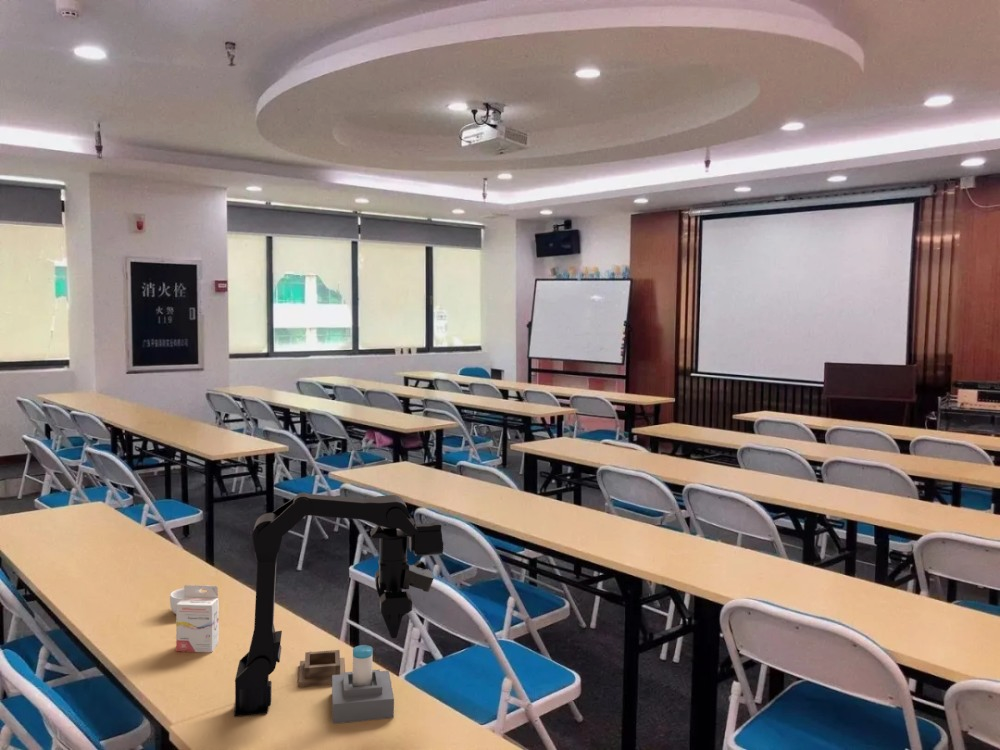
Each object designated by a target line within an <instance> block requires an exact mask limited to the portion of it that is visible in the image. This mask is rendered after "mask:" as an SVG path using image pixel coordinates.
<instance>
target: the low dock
mask: <svg viewBox="0 0 1000 750" xmlns="http://www.w3.org/2000/svg"><path fill="white" fill-rule="evenodd" d="M340 652H341V651H340V649H334V650H333V649H332V650H320V651H319V650H318V651H307V652H305V654H304V656H305V657H304V660H300V661H299V673H298V687H299V686H302V687H308V686H309V687H310V686H312V685H313V686H323V685H324V684H325V685H332V675H340V674H343V672H346V658H345V657H341V655H340ZM321 684H322V685H321ZM325 685H324V686H325ZM313 686H312V687H313Z"/></svg>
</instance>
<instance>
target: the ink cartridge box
mask: <svg viewBox="0 0 1000 750" xmlns="http://www.w3.org/2000/svg"><path fill="white" fill-rule="evenodd" d="M183 588H184V594H185V597H184V598H183V599H182V600H181V601H180V602H178V603H177V613H176V614H175V615H176V618H175V619H176V621H175V622H176V623H175V624H176V625H175V626H176V627H175V628H176V630H175V631H176V635H175V639H176V641H175V645H176V646H175V647H176V648H175V649H176V650H175V651H176V652H177V651H183V652H184V653H213V651H214V650H215V648H216V647H218V644H219V616H220V615H219V613H220V611H219V609H220V608H219V604H220V603H219V600H220V599H219V593H218V592H219V591H218V590H219V587H218V586H217V585H205V584H201V585H200V584H185V585H184V587H183ZM195 590H201V592H195ZM203 591H205V592H203ZM185 651H187V652H185ZM183 652H182V653H183Z"/></svg>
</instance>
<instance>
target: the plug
mask: <svg viewBox="0 0 1000 750" xmlns="http://www.w3.org/2000/svg"><path fill="white" fill-rule="evenodd" d="M373 649H374V648H373V647H372V646H370V645H367V644H361V645H360V644H359V645H357V646H355V647H354V648H353V649H352V672H353V682H352V687H362V686H372V670H373V653H374V652H373Z"/></svg>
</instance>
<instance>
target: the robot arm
mask: <svg viewBox="0 0 1000 750" xmlns="http://www.w3.org/2000/svg"><path fill="white" fill-rule="evenodd" d="M306 516H311V517H324V518H334V519H336V518H337V519H348V520H349V519H350V520H360V521H365V522H368V523H371V524H373V525H376V526H375V527H374V528H373V529H371V531H370V533H369V534H370V538H371V539H379V553H378V554H379V558H378V561H377V562H378V566H379V567H378V569H377V570H376V571H375V573H374V583H375V588H376V592H377V595H378V598H379V609H380V613H381V616H382V619H383V621H384V623H385V626H386V628H387V630H388V633H389V635H390V638H391V639H397V637H398V635H399V631H400V627H401V623H402V620H403V617H404V616H405V615H406V614H409V613H410V612H412V611H413V599H412V597H411V595H410V594H409V592H407V591H402V590H410V587H413V588H415V589H418V590H419V589H420V590H422V591H423V592H430V590H431V587H432V584H433V581H434V579H435V576H434V574H433V572H432V571H431V570H430V569H429V568H428V569H427V566H426V562H425V561H423V560H417V561H416V562H415V563H414V564H409V562H408V545H409V551H410V552H413V555H414V556H415V557H425V556H427V557H428V556H429V557H431V556H442V555H443V553H444V541H443V533H442V524H441V522H440V521H435V522H431V523H416V522H415V520H414V518H413V517H411V516H410V513H409V509H408V507H407V505H406V502H405V500H404V499H403V498H402V497H401V496H399V495H397V494H389V495H387V494H386V495H378V496H374V497H367V498H357V497H348V496H347V497H346V496H337V495H336V496H335V495H325V494H324V495H323V494H312V493H308V492H305V491H303V492H299V493H297V494H296V495H294V497H293V498H291V500H289V501H287V502H285V503H284V504H282V505H280V506H279V507H277V508H276V509H275V510H273V511H272V512H266V513H264V514H262V515H260V516H259V517H258V518H257V519H256V521H255V524H254V527H253V531H252V535H251V538H252V545H253V552H254V555H255V561H256V582H255V583H256V584H255V587H256V588H255V605H254V606H255V607H254V609H255V610H254V627H253V633H252V636H251V641H250V646H249V649H248V652H246V654H244V656H243V657H242V658H241V659H240V660H239V663H238V665H237V671H236V674H235V677H234V678H235V679H234V682H235V683H234V687H235V688H234V695H235V696H234V697H235V698H234V701H235V702H234V706H235V707H234V712H233V717H243V716H244V717H246V716H256V715H265V714H268V713H269V707H271V705H272V693H273V692H272V689H273V688H272V680H270V678H269V677H270V676H269V675H271V674H272V673H273V672H274V671H275V669H276V667H277V663H280V662H281V654H282V646H281V643H282V642H281V641H282V634H283V631H282V630H277V631H276V629H275V623H274V619H275V601H276V600H275V599H276V598H275V597H276V596H275V595H276V582H277V581H276V580H277V579H276V578H277V561H278V557H279V552H280V548H281V544H282V539H283V536H284V535H287V533H288V532H290V530H291V529H293V528H294V527H295V526H296V525H297V524H298V523H299V522H300V521H302V519H303V518H305V517H306ZM408 539H409V540H408ZM408 541H409V543H408Z"/></svg>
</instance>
